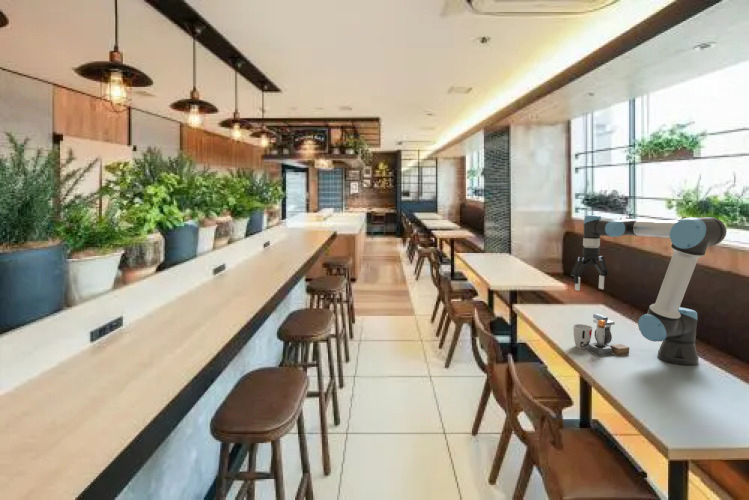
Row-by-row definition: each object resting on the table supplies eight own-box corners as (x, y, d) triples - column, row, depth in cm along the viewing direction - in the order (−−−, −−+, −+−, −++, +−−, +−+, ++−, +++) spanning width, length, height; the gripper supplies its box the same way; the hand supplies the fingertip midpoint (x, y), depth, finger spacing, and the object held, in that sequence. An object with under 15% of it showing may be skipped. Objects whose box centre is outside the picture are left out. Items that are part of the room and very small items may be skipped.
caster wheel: (614, 345, 225) (616, 318, 224) (602, 347, 224) (604, 319, 222) (599, 339, 235) (601, 313, 233) (587, 340, 233) (589, 314, 231)
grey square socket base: (611, 354, 214) (612, 347, 213) (598, 355, 212) (599, 349, 211) (600, 349, 220) (601, 343, 220) (587, 350, 219) (588, 344, 218)
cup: (580, 350, 219) (581, 329, 217) (568, 345, 226) (569, 324, 225) (594, 349, 221) (596, 328, 219) (582, 343, 228) (584, 323, 227)
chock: (628, 354, 214) (629, 347, 213) (618, 356, 212) (618, 348, 212) (620, 351, 219) (620, 343, 218) (609, 352, 217) (610, 345, 216)
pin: (604, 353, 215) (606, 321, 213) (599, 353, 214) (601, 321, 212) (600, 351, 218) (602, 319, 216) (594, 351, 217) (596, 320, 215)
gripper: (607, 245, 237) (605, 286, 240) (564, 246, 232) (562, 289, 234) (618, 246, 230) (616, 289, 232) (573, 248, 224) (572, 292, 227)
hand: (589, 289), depth 233 cm, fingers open, 13 cm apart
